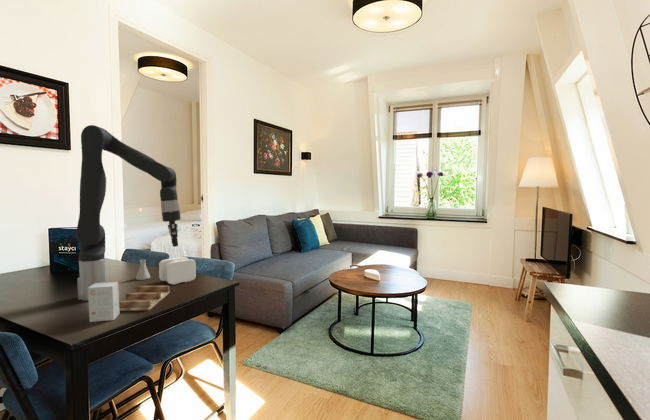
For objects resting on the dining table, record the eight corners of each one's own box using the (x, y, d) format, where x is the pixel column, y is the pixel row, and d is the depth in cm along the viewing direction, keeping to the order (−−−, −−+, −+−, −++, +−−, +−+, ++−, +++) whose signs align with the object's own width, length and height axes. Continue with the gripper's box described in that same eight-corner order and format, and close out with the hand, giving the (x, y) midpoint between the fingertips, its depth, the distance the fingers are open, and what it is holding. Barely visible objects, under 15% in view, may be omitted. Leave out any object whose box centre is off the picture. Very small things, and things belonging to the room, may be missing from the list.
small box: (119, 314, 128) (118, 281, 127) (113, 320, 122) (112, 286, 121) (96, 315, 126) (94, 282, 125) (88, 322, 120) (87, 287, 119)
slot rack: (112, 310, 131) (112, 302, 131) (138, 293, 153) (138, 285, 152) (149, 310, 133) (149, 301, 132) (169, 292, 154) (169, 285, 154)
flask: (147, 275, 182) (147, 258, 181) (153, 278, 177) (152, 260, 177) (133, 278, 176) (132, 260, 176) (138, 281, 172) (138, 262, 171)
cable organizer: (166, 286, 164) (165, 263, 163) (159, 281, 171) (158, 259, 170) (196, 280, 174) (195, 259, 173) (187, 276, 182) (187, 255, 181)
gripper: (161, 210, 155) (165, 244, 157) (161, 211, 143) (166, 248, 144) (178, 209, 159) (182, 242, 160) (180, 210, 146) (184, 245, 147)
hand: (175, 245), depth 152 cm, fingers open, 8 cm apart
